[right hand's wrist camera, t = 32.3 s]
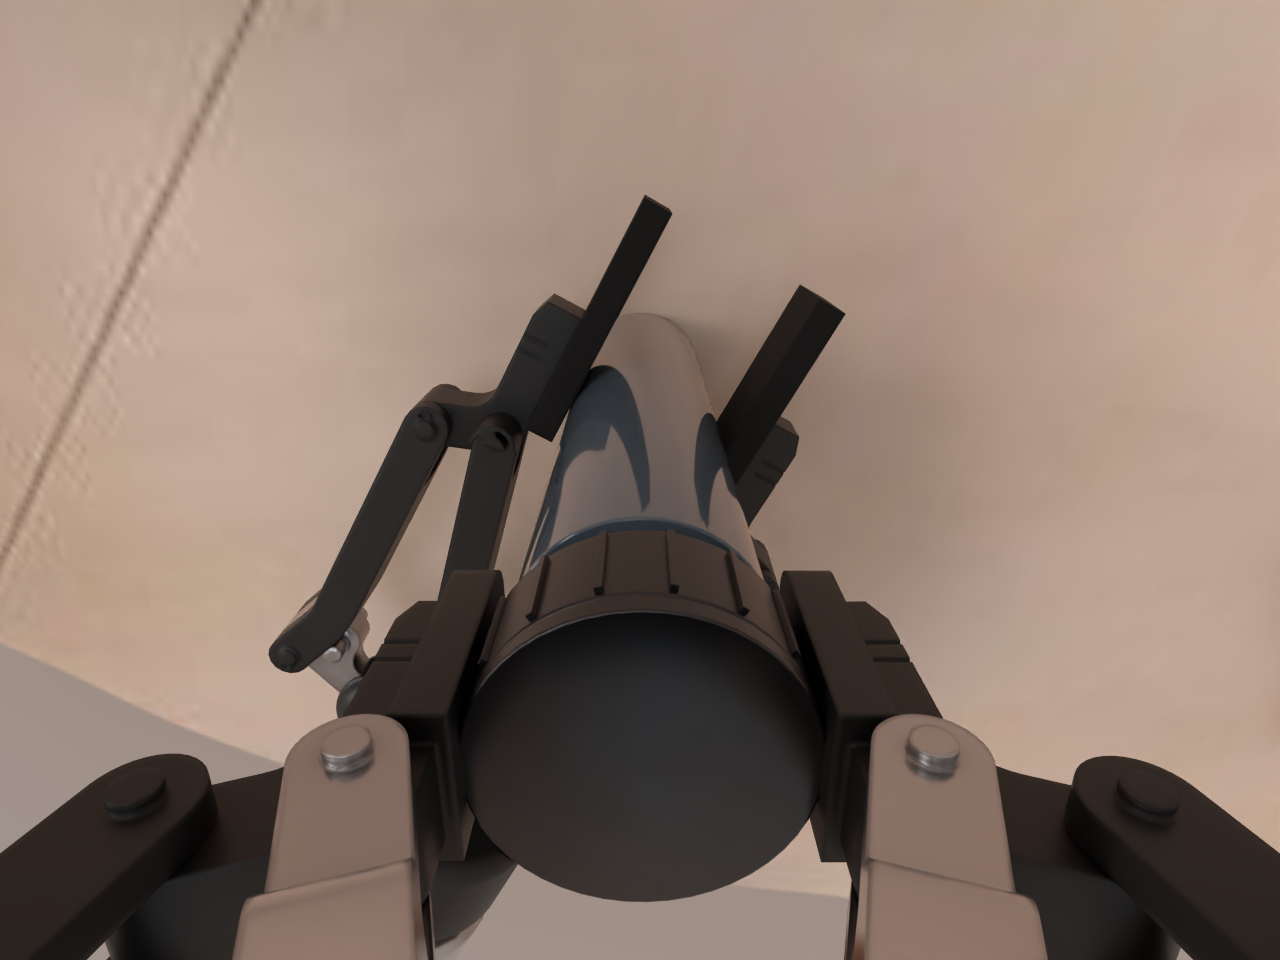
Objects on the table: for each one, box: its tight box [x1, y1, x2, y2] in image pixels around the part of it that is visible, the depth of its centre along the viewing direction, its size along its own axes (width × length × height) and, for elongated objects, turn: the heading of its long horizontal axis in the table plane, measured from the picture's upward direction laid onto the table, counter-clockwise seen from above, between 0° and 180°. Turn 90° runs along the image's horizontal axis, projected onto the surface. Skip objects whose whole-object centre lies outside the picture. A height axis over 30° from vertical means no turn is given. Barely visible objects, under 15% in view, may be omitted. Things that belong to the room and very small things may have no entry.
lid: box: [459, 529, 825, 902], centre depth 10 cm, size 5×5×2 cm
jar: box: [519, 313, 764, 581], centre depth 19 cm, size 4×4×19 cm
